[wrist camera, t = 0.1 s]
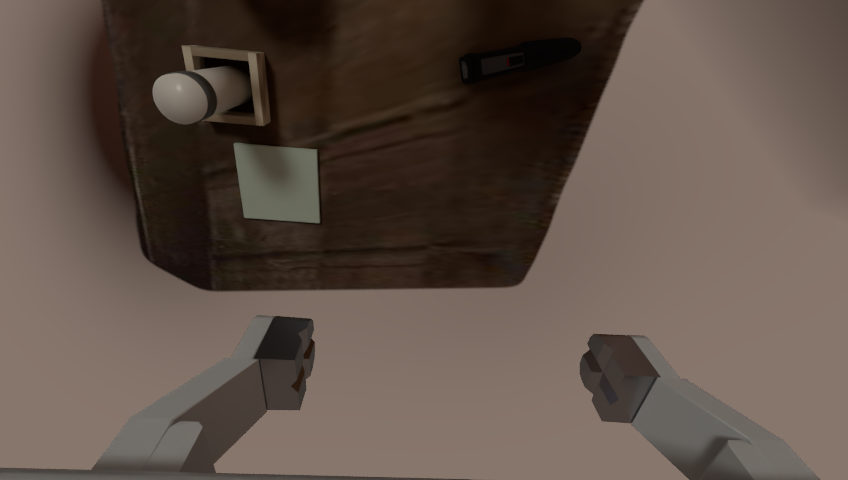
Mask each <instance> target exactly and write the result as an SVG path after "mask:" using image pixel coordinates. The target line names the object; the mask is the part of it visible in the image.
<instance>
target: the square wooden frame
mask: <svg viewBox="0 0 848 480" xmlns="http://www.w3.org/2000/svg"><path fill="white" fill-rule="evenodd" d="M182 50H183V55H184V60H185V66H186V71H193V70H200V69H206V67H205V61H204V57H212V58H222V59H232V60H242V61H249V68H250V77H251V86H252V94H253V103H254V112H255V113H246V112H235V111H223V112H220V113H218V114H215V115H212V116H211V117H209V118H207V119H205V120H202V121H212V122H223V123H235V124H246V125H257V126H265V125H266V124H268V123H270V122H271V118H270V108H269V97H268V87H267V77H266V66H265V56H264V52H254V51H244V50H235V49H225V48H215V47H205V46H196V45H190V46H182Z"/></svg>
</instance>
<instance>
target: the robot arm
mask: <svg viewBox="0 0 848 480" xmlns="http://www.w3.org/2000/svg"><path fill="white" fill-rule="evenodd" d="M313 331H314V327H313V320H312V319H307V318H294V317H293V318H292V317H281V316H276V317H275V316H263V315H257V316H256V317H255V318H253V320H252V322H251V323H250V325H249V327H248V329H247V330H246V332H245V334H244V336H243V337H242V339H241V341H240V343H239V344H238V346H237V348H236V350H235V351H234V353H233V355H232V357H231V358H224V359H223V360H221V361H219V362H218V363H216V364H215V365H213V366H211V367H210V368H208V369H207V370H205V371H204V372H202V373H200V374H199V375H197V376H196V377H194V378H192V379H191V380H189V381H188V382H186V383H184V384H183V385H181V386H180V387H178V388H177V389H175V390H173V391H172V392H170V393H169V394H167V395H166V396H164V397H162V398H161V399H159V400H158V401H156V402H154V403H153V404H152V405H150V406H148V407H146V408H145V409H143V410H142V411H140V412H138V413H137V414H135V415H134V416H132V417H131V418H130V419H129V420H128V421H127V423H126V424H125V425H124V427H123V428H122V429H121V431H120V432H119V433H118V435H117V436H116V437H115V439H114V440H113V441H112V443H111V444H110V445H109V447H108V448H107V449H106V451H105V452H104V453H103V455H102V456H101V457H100V459H99V460H98V462H97V463H96V464H95V465H94V467H93V468H92V470H68V469H67V470H66V469H27V468H0V480H469V479H430V478H390V477H350V476H311V475H271V474H270V475H269V474H230V473H229V474H228V473H216V472H215V468H214V465H213V464H214V463H215V462H216V461H217V460H218V459H219V458H220V457H221V456H222V455H223V454H224V453H225V452H226V451H227V450H228V449H229V448H230V447H231V446H232V445H233V444H234V443H236V442H237V441H238V440H239V438H241V437H242V436H243V435H244V434H245V433H246V431H248V430H249V429H250V428H251V427H252V426H253V425H254V424H255V423H256V422H257V421H258V420H259V419H260V418H261V417H262V416H263V415H264V414H265V413H266V412H267V410H300V407H301V404H302V401H303V398H304V395H305V391H306V381H305V380H306V379H307V378H308V377H309V376H310V375H311V371H312V368H313V362H314V356H315V342H314V341H313V340H312V339H311V337H312V334H313ZM588 346H589V348H590V350H589V351H588V352H586V353H585V354H584V355H583V356H582V359H581V362H580V375H581V379H582V381H583V384H584V386H585V388H587V389H588V390H589V391H590V392H592V393H593V394H594V395H593V398H592V402H593V404H594V406H595V408H596V410H597V412H598V414H599V416H600V418H601V420H602V421H607V422H622V423H632V426H633V427H635V429H637V431H639V432H640V433H641V434H642V435H643V436H644V437H645V438H646V439H647V440H648V441H649V442H650V443H651V444H652V445H653V446H654V447H655V448H657V449H658V450H659V451H660V452H661V453H662V454H663V455H664V456H665V457H666V458H667V459H668V460H669V461H670V462H671V463H672V464H673V465H674V466H676V467H677V468H678V469H679V470H680V471H681V472H682V473H683V474H684V475H685V476H686V477H687V478H688V479H689V480H820V479H819V478H818V477H817V476H816V475H815V473H814V472H813V471H812V470H811V469H810V468H809V467H808V466H807V465H806V464H805V463H804V462H803V460H802V459H801V458H800V457H799V456H798V455H797V454H796V453H795V452H794V451H793V450H792V449H791V447H790V446H789V445H788V444H787V443H786V442H785V441H784V440H782V439H781V438H779V437H777V436H776V435H774V434H773V433H771V432H770V431H768V430H766V429H765V428H763V427H762V426H760V425H758V424H757V423H755V422H754V421H752V420H750V419H749V418H747V417H746V416H744V415H742V414H741V413H739V412H738V411H736V410H734V409H733V408H731V407H729V406H728V405H726V404H725V403H723V402H722V401H720V400H718V399H717V398H715V397H714V396H712V395H711V394H709V393H707V392H706V391H704V390H703V389H701V388H699V387H698V386H696V385H695V384H693V383H691V382H689V381H688V380H687V379H680V377H679V376H678V375H677V374H676V372H675V371H674V370H673V369H672V367H671V366H670V365H669V364H668V362H667V361H666V360H665V358H664V357H663V356H662V355H661V354H660V352H659V351H658V350H657V348H656V347H655V346H654V345H653V343H652V342H651V341H650V340H649V339H648V338H647V337H645V336H637V335H627V336H625V335H607V334H593V335H592V336H591V337H590V339H589V341H588Z"/></svg>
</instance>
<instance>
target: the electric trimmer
mask: <svg viewBox="0 0 848 480" xmlns="http://www.w3.org/2000/svg"><path fill="white" fill-rule="evenodd" d="M580 50H581V44H580V42H579V41H577V40H575V39H573V38H561V39H550V40H540V41H531V42H524V43H522V44H520V45H519V46H516V47H513V48H508V49H503V50H498V51H493V52H487V53H481V54H473V53H469V54H465V55H464V57H460V58H459V63H460V71H461V78H462V82H463V83H467V82H468V83H476V82H478V81H481V80H484V79H488V78H492V77H496V76H500V75H504V74H508V73H513V72H519V71H523V72H525V71H529V70H533V69H537V68H540V67H543V66H547V65H550V64H553V63H557V62H560V61H564V60H566V59H569V58H572V57H573V56H575V55H576V54H578V53H579V52H580Z"/></svg>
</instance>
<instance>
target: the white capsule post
mask: <svg viewBox="0 0 848 480" xmlns="http://www.w3.org/2000/svg"><path fill="white" fill-rule="evenodd" d="M251 97H252V86H251V79H250V77H249V76H248V75H247V73H246V72H245V71H243V70H242V69H240V68H239V67H236V66H231V65H229V66H222V67H215V68H207V69H200V70H193V71H179V72H172V73H168V74H166V75H163V76H161V77H159V78H158V79H157V80H156V82H155V83H154V86H153V98H154V101H155V104H156V106H157V107H158V109H159V110H160V112H161V113H162V114H163V115H164V116H166V117H167V118H168V119H170V120H171V121H173V122H176V123H179V124H191V123H197V122H199V121H202V120H205V119H207V118H209V117H211V116H212V115H215V114H218V113H220V112H223V111H226V110H228V109H231V108H233V107H236V106H239V105H241V104H244V103H246V102H248V101H249V100H250V98H251Z"/></svg>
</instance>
